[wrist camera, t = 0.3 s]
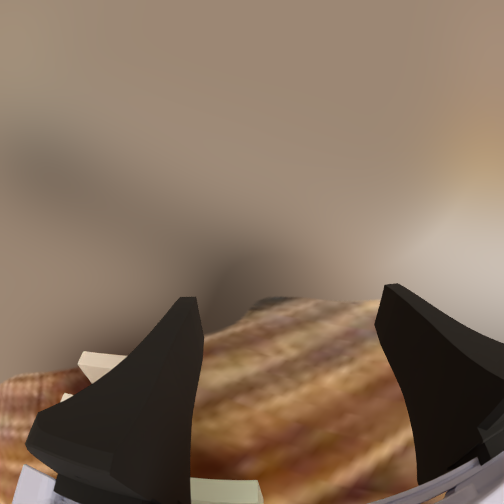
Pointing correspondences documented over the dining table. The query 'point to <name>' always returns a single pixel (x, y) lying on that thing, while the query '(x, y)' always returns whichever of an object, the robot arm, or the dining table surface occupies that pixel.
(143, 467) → the robot arm
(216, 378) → the dining table surface
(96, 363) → the domino
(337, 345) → the dining table surface
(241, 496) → the domino
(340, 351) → the dining table surface
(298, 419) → the dining table surface
